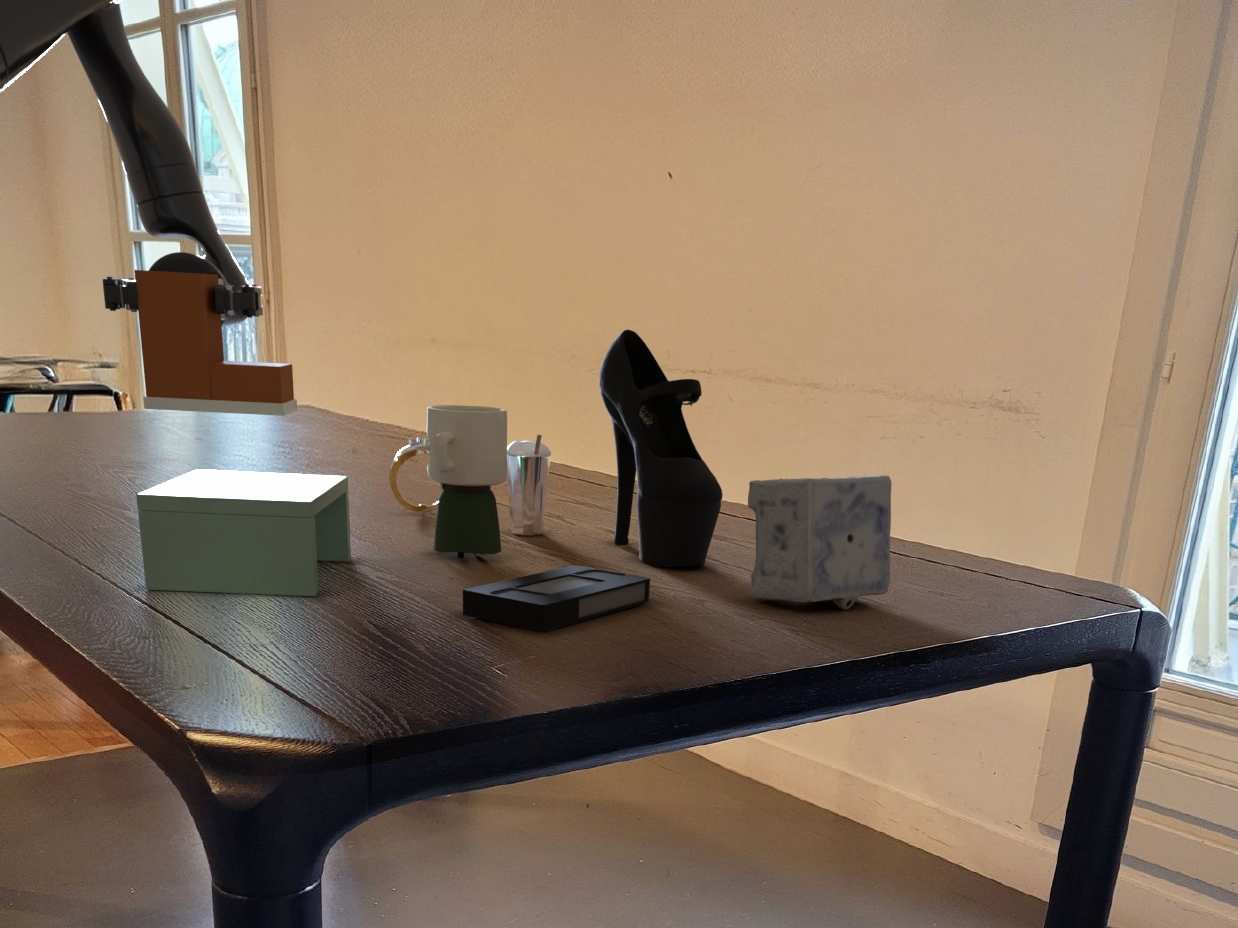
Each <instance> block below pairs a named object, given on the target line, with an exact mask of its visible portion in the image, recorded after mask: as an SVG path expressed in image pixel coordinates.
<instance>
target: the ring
mask: <svg viewBox="0 0 1238 928" xmlns="http://www.w3.org/2000/svg"><path fill="white" fill-rule="evenodd" d="M417 454H418V455H425V454H428V456H430V444H429V439H428V437H424V438H422V437H420V436H417V437H416V442H413V440H412V438H408V445H406V446H404V447H402V448H401V449H399V451H397V453H396V454H395V456H394V458H393V460H392V461H391V465H390V469H389V470H390V471H389V485H390V488H391V492H392V494H393V497H394V498H395V499H396V500H397V502H398V503H399V504H400V505H402V506H403V507H404V508H406V509H407V510H409V511H412V512H414V513H418V514H419V515H422V516H424V515H427V514H428V513H432V512H436V511H437V510H438V501H436V502H435V503H432V504H429V505H427V504H425V503H419V504H418V505H416V504H413V503H411V502H409V501H408V500H406V499H405V498H404V497H403V496H402V494H401V493H400V490H399V489H398V488H399V487H398V485H397V484H398V483H397V475H398V472H399V470H400V468H401V467H402V465H403V464H404V463H405V462H407V461H408V460H409V459H412V458H414V457H415V456H417Z"/></svg>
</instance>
